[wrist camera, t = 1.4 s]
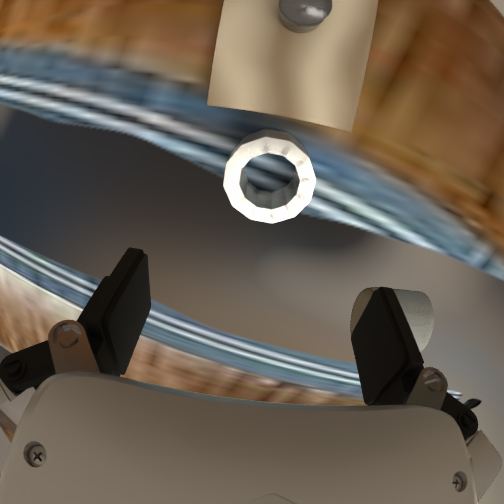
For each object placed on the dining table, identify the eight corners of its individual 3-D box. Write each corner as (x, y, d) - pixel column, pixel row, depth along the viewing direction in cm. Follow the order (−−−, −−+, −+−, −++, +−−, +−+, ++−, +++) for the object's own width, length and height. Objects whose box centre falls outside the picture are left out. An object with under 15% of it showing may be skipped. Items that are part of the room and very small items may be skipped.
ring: (316, 138, 24) (323, 148, 21) (299, 208, 28) (303, 228, 25) (236, 123, 24) (230, 131, 21) (226, 196, 28) (219, 214, 24)
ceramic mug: (362, 272, 32) (378, 322, 25) (420, 278, 32) (443, 324, 25) (336, 334, 38) (343, 382, 31) (388, 336, 38) (401, 380, 31)
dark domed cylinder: (324, 2, 16) (335, -13, 12) (317, 37, 18) (328, 28, 14) (281, -7, 16) (283, -24, 12) (274, 28, 18) (275, 17, 14)
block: (378, -40, 14) (384, -45, 12) (347, 129, 23) (351, 132, 22) (243, -68, 13) (241, -75, 12) (210, 103, 23) (206, 105, 22)
